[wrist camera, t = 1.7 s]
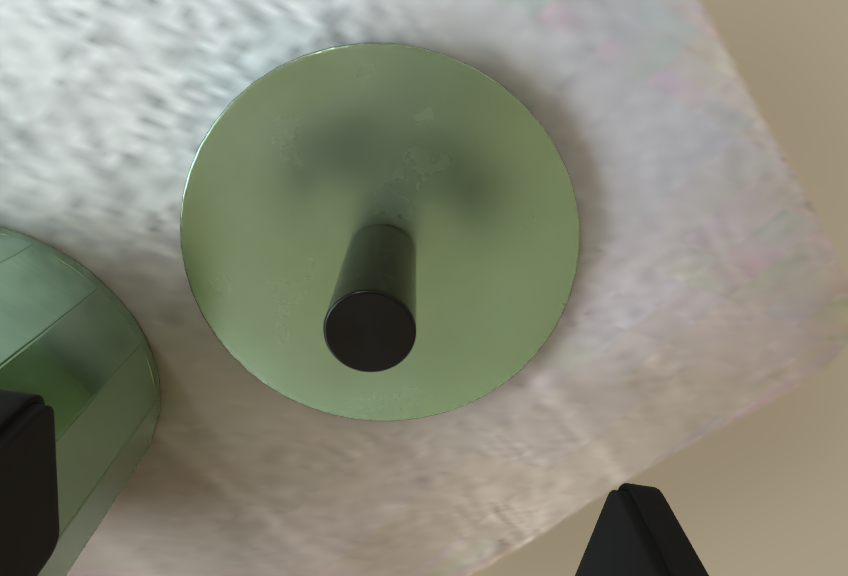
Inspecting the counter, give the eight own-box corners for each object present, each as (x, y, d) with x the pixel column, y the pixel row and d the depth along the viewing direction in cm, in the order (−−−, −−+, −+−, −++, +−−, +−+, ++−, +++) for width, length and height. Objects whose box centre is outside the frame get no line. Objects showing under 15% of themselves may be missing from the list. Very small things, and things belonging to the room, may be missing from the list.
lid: (354, -61, 17) (320, -115, 11) (650, 231, 21) (747, 311, 15) (118, 263, 21) (-3, 355, 15) (402, 460, 25) (398, 597, 19)
